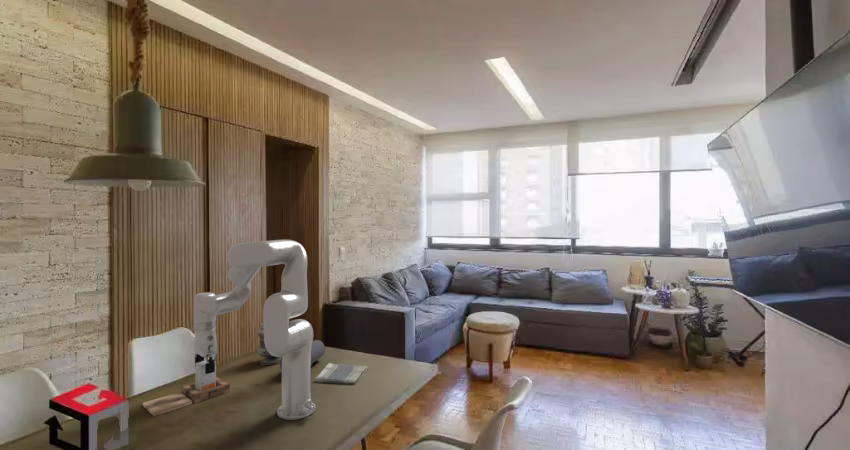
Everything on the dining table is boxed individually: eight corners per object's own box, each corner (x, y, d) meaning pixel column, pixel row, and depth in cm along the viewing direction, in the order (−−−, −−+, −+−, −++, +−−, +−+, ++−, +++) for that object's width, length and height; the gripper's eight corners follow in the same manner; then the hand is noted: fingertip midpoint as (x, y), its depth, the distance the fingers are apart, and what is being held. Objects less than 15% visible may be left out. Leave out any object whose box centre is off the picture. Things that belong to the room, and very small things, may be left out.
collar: (229, 392, 156) (229, 384, 156) (194, 403, 146) (194, 395, 146) (215, 383, 164) (215, 376, 164) (181, 393, 155) (181, 386, 155)
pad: (192, 403, 146) (192, 400, 146) (153, 416, 137) (153, 412, 137) (179, 394, 154) (179, 391, 154) (142, 405, 145) (142, 402, 145)
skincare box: (200, 397, 152) (199, 365, 152) (194, 394, 154) (194, 362, 154) (216, 391, 157) (216, 360, 156) (211, 388, 159) (211, 358, 159)
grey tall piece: (279, 355, 198) (279, 318, 198) (288, 362, 189) (288, 323, 189) (253, 360, 191) (253, 322, 190) (262, 368, 181) (261, 328, 181)
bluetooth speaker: (309, 358, 194) (309, 337, 193) (326, 360, 191) (326, 339, 191) (278, 376, 172) (278, 352, 172) (296, 378, 169) (296, 355, 169)
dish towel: (355, 386, 162) (355, 378, 162) (313, 383, 165) (313, 376, 165) (369, 369, 181) (369, 362, 181) (331, 367, 184) (331, 360, 184)
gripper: (225, 327, 152) (224, 372, 153) (206, 319, 164) (205, 361, 164) (203, 331, 147) (203, 378, 147) (185, 323, 158) (185, 366, 158)
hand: (204, 369), depth 156 cm, fingers open, 9 cm apart
